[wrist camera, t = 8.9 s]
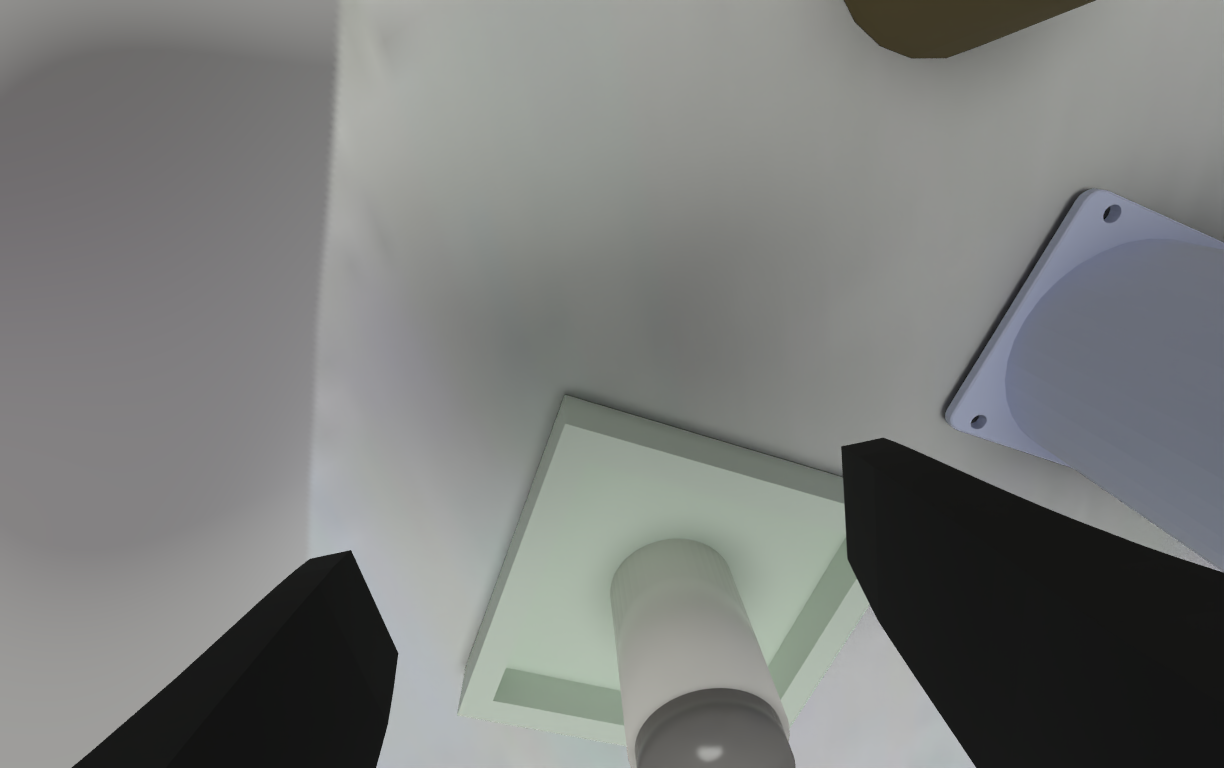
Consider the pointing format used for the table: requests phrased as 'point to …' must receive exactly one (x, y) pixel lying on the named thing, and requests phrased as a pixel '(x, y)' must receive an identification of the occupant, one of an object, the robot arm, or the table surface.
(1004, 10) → the cork
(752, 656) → the salt shaker
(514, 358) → the table surface
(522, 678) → the tray
